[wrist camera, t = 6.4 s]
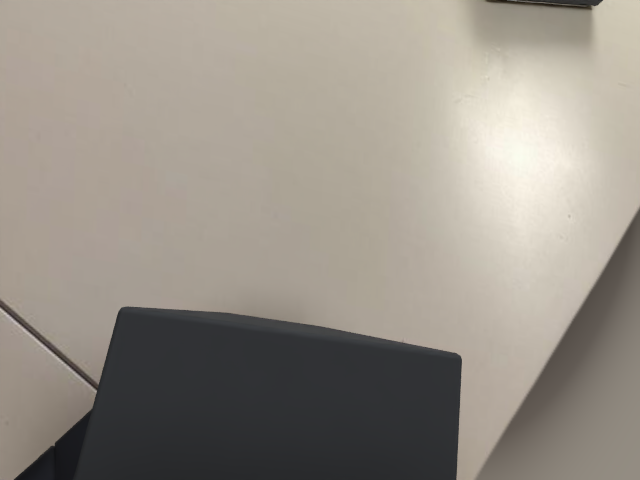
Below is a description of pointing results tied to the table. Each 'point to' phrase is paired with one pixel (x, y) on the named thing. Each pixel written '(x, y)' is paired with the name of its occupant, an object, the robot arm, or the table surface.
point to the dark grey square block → (268, 403)
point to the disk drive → (566, 2)
